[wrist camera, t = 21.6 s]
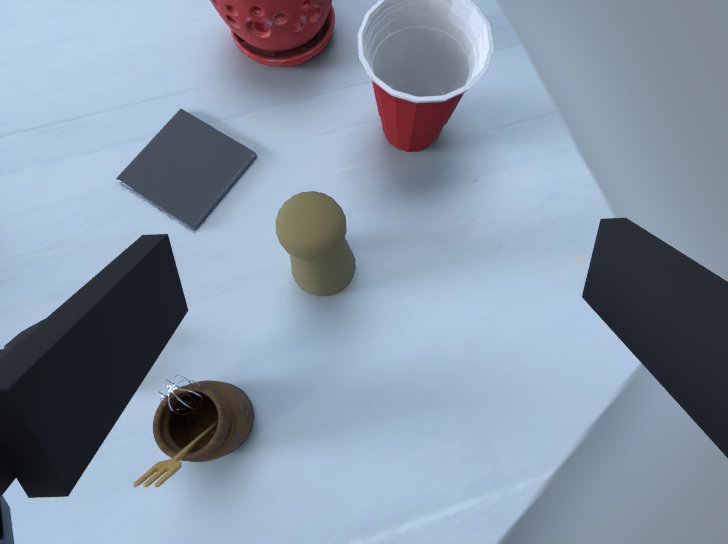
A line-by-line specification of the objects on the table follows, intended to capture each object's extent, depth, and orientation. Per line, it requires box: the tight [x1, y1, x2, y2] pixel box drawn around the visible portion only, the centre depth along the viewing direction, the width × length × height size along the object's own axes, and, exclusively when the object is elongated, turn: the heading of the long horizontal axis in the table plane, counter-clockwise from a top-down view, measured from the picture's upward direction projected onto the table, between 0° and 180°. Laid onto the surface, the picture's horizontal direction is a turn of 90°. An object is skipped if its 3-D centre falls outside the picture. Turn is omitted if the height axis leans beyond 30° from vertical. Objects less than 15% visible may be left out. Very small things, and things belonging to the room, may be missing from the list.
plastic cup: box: [357, 0, 494, 152], centre depth 39 cm, size 11×11×12 cm
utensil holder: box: [133, 375, 253, 487], centre depth 30 cm, size 6×6×12 cm
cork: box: [276, 191, 355, 296], centre depth 35 cm, size 6×6×11 cm
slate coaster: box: [116, 109, 257, 230], centre depth 43 cm, size 10×10×1 cm
